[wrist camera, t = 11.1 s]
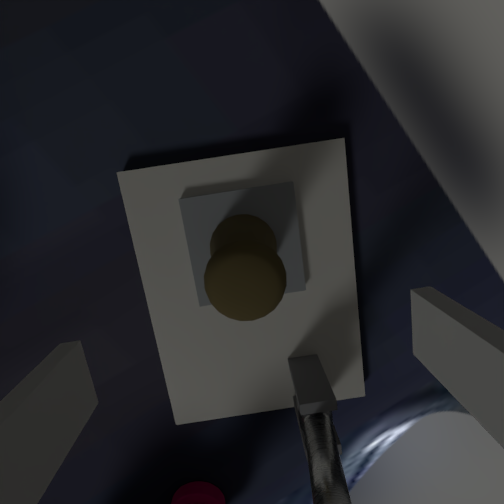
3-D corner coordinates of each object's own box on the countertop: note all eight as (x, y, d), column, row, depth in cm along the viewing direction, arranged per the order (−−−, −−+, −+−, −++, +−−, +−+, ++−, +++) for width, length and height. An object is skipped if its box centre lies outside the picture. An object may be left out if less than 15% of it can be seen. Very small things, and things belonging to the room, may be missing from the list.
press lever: (293, 418, 33) (331, 809, 13) (288, 382, 32) (321, 742, 12) (336, 414, 32) (442, 810, 12) (332, 377, 31) (440, 741, 12)
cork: (256, 201, 30) (266, 218, 19) (288, 260, 31) (315, 306, 20) (196, 234, 30) (173, 270, 19) (230, 291, 31) (226, 353, 21)
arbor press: (178, 415, 37) (161, 485, 29) (122, 172, 31) (79, 172, 23) (360, 387, 37) (394, 449, 29) (339, 139, 31) (375, 127, 23)
